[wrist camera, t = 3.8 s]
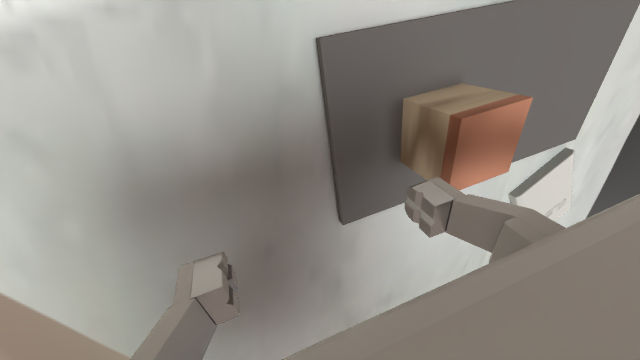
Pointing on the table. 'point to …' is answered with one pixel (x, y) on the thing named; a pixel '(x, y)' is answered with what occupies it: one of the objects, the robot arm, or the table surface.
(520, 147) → the rubber mat
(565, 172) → the external hard drive
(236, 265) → the table surface
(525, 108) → the maple block
